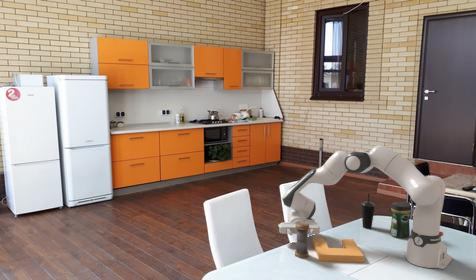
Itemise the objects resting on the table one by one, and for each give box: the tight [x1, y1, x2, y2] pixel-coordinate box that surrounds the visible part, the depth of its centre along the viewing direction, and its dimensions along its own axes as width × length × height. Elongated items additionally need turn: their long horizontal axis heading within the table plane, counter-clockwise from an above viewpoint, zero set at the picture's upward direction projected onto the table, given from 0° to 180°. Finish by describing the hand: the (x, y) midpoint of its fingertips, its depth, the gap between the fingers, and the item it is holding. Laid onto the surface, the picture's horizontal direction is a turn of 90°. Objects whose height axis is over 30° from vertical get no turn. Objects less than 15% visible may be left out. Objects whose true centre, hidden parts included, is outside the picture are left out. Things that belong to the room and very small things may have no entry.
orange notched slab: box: [312, 237, 365, 263], centre depth 186 cm, size 20×20×3 cm
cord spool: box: [294, 222, 310, 259], centre depth 182 cm, size 6×6×15 cm
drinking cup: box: [360, 192, 376, 230], centre depth 220 cm, size 8×8×20 cm
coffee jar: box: [389, 201, 412, 239], centre depth 208 cm, size 10×8×19 cm
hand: (300, 234), depth 189 cm, fingers open, 8 cm apart
